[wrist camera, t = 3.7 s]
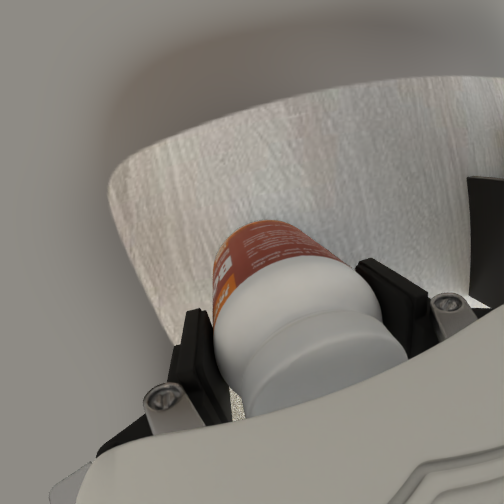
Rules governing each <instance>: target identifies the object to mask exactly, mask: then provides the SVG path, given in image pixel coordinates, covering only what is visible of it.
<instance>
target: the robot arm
mask: <svg viewBox="0 0 504 504" xmlns="http://www.w3.org/2000/svg"><path fill="white" fill-rule="evenodd" d="M355 271H356V272H357V273H358V274H359V275H360V276H361V277H362V278H363V279H364V280H365V281H366V282H367V283H368V284H369V286H370V287H371V289H372V290H373V292H374V293H375V296H376V298H377V300H378V302H379V305H380V308H381V312H382V320H383V325H384V326H385V327H386V328H387V330H388V331H389V332H390V333H391V334H392V336H393V337H394V338H395V339H396V340H397V341H398V342H399V343H400V344H401V346H402V347H403V348H404V350H405V352H406V354H407V357H408V360H407V361H405V362H403V363H401V364H399V365H397V366H395V367H393V368H391V369H389V370H387V371H385V372H382V373H380V374H378V375H376V376H374V377H371V378H369V379H367V380H364V381H362V382H359V383H357V384H355V385H352V386H349V387H347V388H344V389H342V390H339V391H336V392H334V393H331V394H328V395H325V396H323V397H320V398H317V399H314V400H311V401H308V402H305V403H301V404H298V405H295V406H292V407H288V408H285V409H281V410H278V411H274V412H270V413H267V414H263V415H259V416H255V417H251V418H247V419H242V420H238V421H233V422H232V412H231V402H230V391H229V385H228V384H227V383H226V382H225V380H224V379H223V377H222V375H221V373H220V371H219V369H218V366H217V363H216V359H215V354H214V346H213V327H212V325H211V322H210V319H209V317H208V314H207V312H206V310H204V311H201V309H200V308H198V309H194V310H190V311H187V312H186V317H185V322H184V328H183V333H182V339H181V344H180V345H176V346H174V349H173V354H172V359H171V364H170V369H169V374H168V380H167V383H163V384H160V385H157V386H156V387H154V388H152V389H151V390H150V391H149V392H148V393H147V394H146V395H145V397H144V400H143V406H144V410H145V414H144V415H143V416H141V417H140V418H139V419H137V420H136V421H135V422H133V423H132V424H131V425H129V426H128V427H127V428H126V429H124V430H123V431H121V432H120V433H119V434H117V435H116V436H115V437H113V438H112V439H110V440H109V441H108V442H106V443H105V444H104V445H103V446H102V447H101V448H100V449H99V451H98V452H97V455H96V459H95V460H94V462H93V463H92V462H89V463H87V464H86V465H84V466H83V467H81V468H80V469H78V470H77V471H76V472H74V473H72V474H71V475H69V476H68V477H66V478H65V479H63V480H62V481H60V482H59V483H57V484H56V485H55V486H54V487H52V489H51V490H50V492H49V501H50V504H504V304H503V305H501V306H500V307H498V308H471V307H470V306H469V304H468V303H467V301H466V300H465V299H464V298H463V297H462V296H460V295H458V294H455V293H441V294H438V295H436V296H434V297H433V298H432V299H430V298H429V297H428V292H427V291H425V290H424V289H422V288H420V287H419V286H417V285H416V284H414V283H412V282H411V281H409V280H408V279H406V278H404V277H403V276H401V275H400V274H398V273H396V272H395V271H393V270H391V269H390V268H388V267H386V266H385V265H383V264H381V263H380V262H378V261H376V260H375V259H373V258H368V259H365V260H362V261H359V263H358V265H357V266H356V268H355Z"/></svg>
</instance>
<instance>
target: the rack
mask: <svg viewBox="0 0 504 504" xmlns="http://www.w3.org/2000/svg"><path fill="white" fill-rule="evenodd" d="M467 183H468V192H469V204H470V220H471V272H470V288H469V296H470V297H472V298H474V299H476V300H478V301H479V302H481V303H483V304H485V305H487V306H488V307H490V308H498V307H500V306H501V305H503V304H504V179H503V178H493V177H482V176H471V177H467Z"/></svg>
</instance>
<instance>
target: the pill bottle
mask: <svg viewBox="0 0 504 504" xmlns="http://www.w3.org/2000/svg"><path fill="white" fill-rule="evenodd" d="M213 346H214V354H215V359H216V363H217V366H218V369H219V371H220V373H221V375H222V377H223V379H224V380H225V382H226V383H227V384H228V385H229V387H230V388H231V389H232V390H233V391H234V392H236V393H237V394H238V395H239V396H240V397H241V398H242V403H243V408H244V413H245V418H246V419H247V418H251V417H255V416H259V415H263V414H267V413H270V412H274V411H278V410H281V409H285V408H288V407H292V406H295V405H298V404H301V403H305V402H308V401H311V400H314V399H317V398H320V397H323V396H325V395H328V394H331V393H334V392H336V391H339V390H342V389H344V388H347V387H349V386H352V385H355V384H357V383H359V382H362V381H364V380H367V379H369V378H371V377H374V376H376V375H378V374H380V373H382V372H385V371H387V370H389V369H391V368H393V367H395V366H397V365H399V364H401V363H403V362H405V361H407V360H408V357H407V354H406V352H405V350H404V348H403V347H402V346H401V344H400V343H399V342H398V341H397V340H396V339H395V338H394V337H393V336H392V334H391V333H390V332H389V331H388V330H387V328H386V327H385V326H384V325H383V320H382V312H381V308H380V305H379V302H378V300H377V298H376V296H375V293H374V292H373V290H372V289H371V287H370V286H369V284H368V283H367V282H366V281H365V280H364V279H363V278H362V277H361V276H360V275H359V274H358V273H357V272H356V271H354V270H353V269H352V268H351V267H350V266H348V265H347V264H346V263H344V262H343V261H341V260H340V259H339V258H338V257H336V256H335V255H333V254H332V253H331V252H330V251H329V250H327V249H325V248H324V247H323V246H321V245H320V244H319V243H317V242H316V241H314V240H313V239H311V238H310V237H309V236H307V235H306V234H305V233H303V232H302V231H301V230H299V229H298V228H296V227H294V226H292V225H290V224H288V223H285V222H282V221H277V220H259V221H254V222H251V223H249V224H246V225H244V226H242V227H240V228H239V229H237V230H236V231H234V232H233V233H232V234H231V235H230V236H229V237H228V238H227V239H226V240H225V241H224V243H223V244H222V245H221V247H220V249H219V251H218V253H217V255H216V258H215V262H214V267H213Z"/></svg>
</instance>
